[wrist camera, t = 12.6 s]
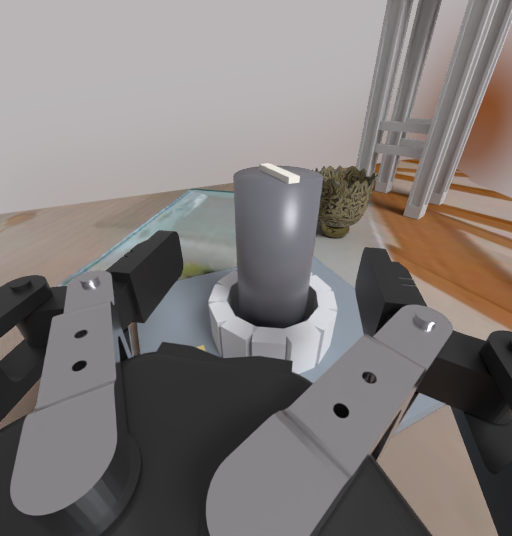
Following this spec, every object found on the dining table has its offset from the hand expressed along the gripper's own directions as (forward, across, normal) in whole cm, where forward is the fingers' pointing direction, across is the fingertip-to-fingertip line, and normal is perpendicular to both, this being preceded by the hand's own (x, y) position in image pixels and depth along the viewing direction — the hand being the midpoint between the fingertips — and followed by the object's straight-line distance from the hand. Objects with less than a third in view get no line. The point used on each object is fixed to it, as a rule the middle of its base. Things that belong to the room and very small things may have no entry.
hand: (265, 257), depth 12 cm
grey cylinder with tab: (+4, 0, +8) cm, 10 cm away
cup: (+24, -6, +10) cm, 27 cm away
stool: (+39, -17, +10) cm, 44 cm away
